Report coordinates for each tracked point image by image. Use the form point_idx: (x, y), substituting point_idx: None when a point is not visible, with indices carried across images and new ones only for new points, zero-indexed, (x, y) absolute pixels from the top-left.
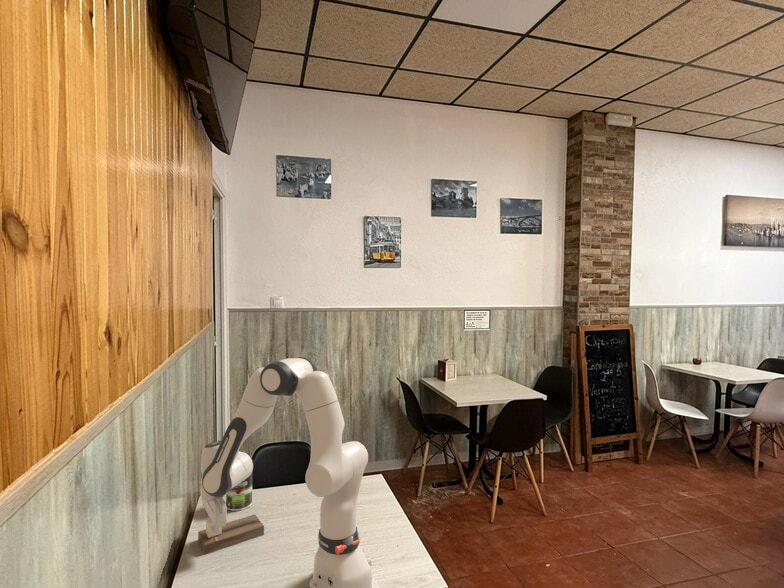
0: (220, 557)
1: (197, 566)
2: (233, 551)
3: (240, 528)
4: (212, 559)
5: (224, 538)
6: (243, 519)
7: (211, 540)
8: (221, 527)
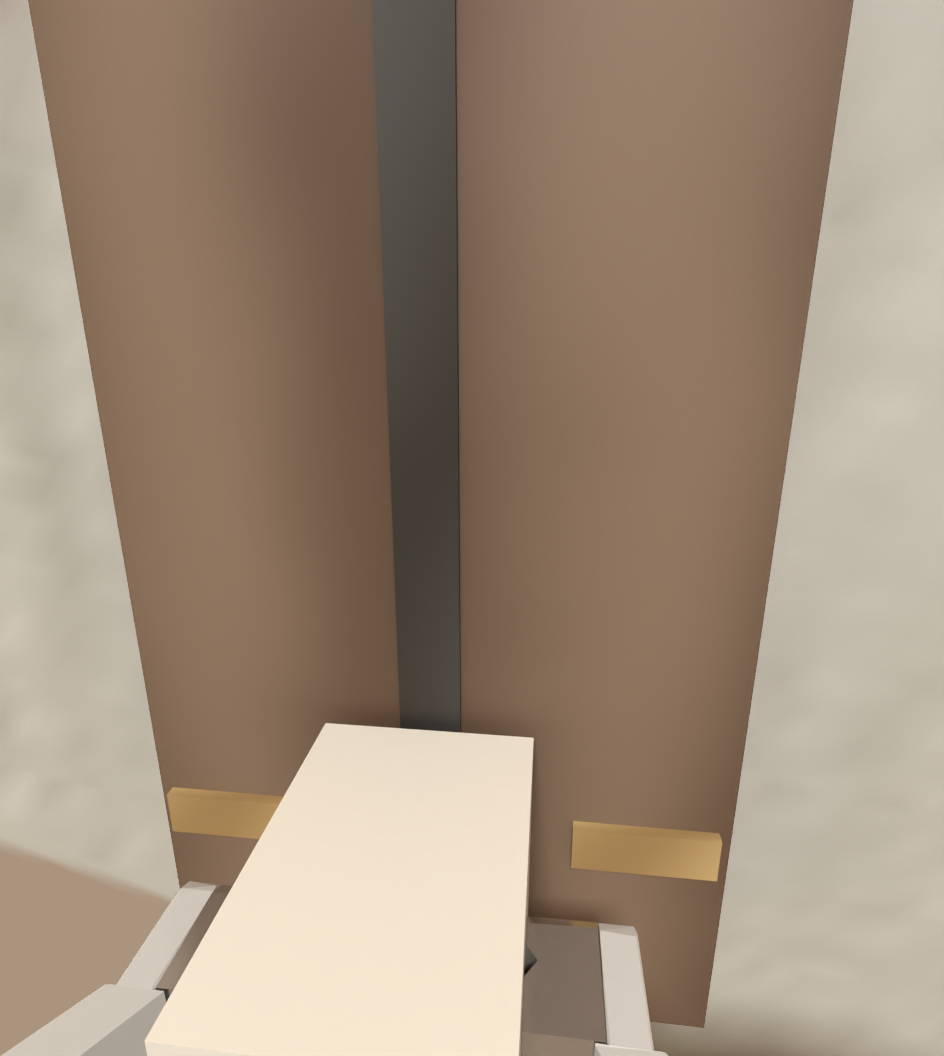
0: (926, 762)
1: (887, 1019)
2: (927, 559)
3: (538, 307)
4: (881, 855)
5: (725, 729)
6: (128, 94)
7: (619, 913)
8: (524, 846)
